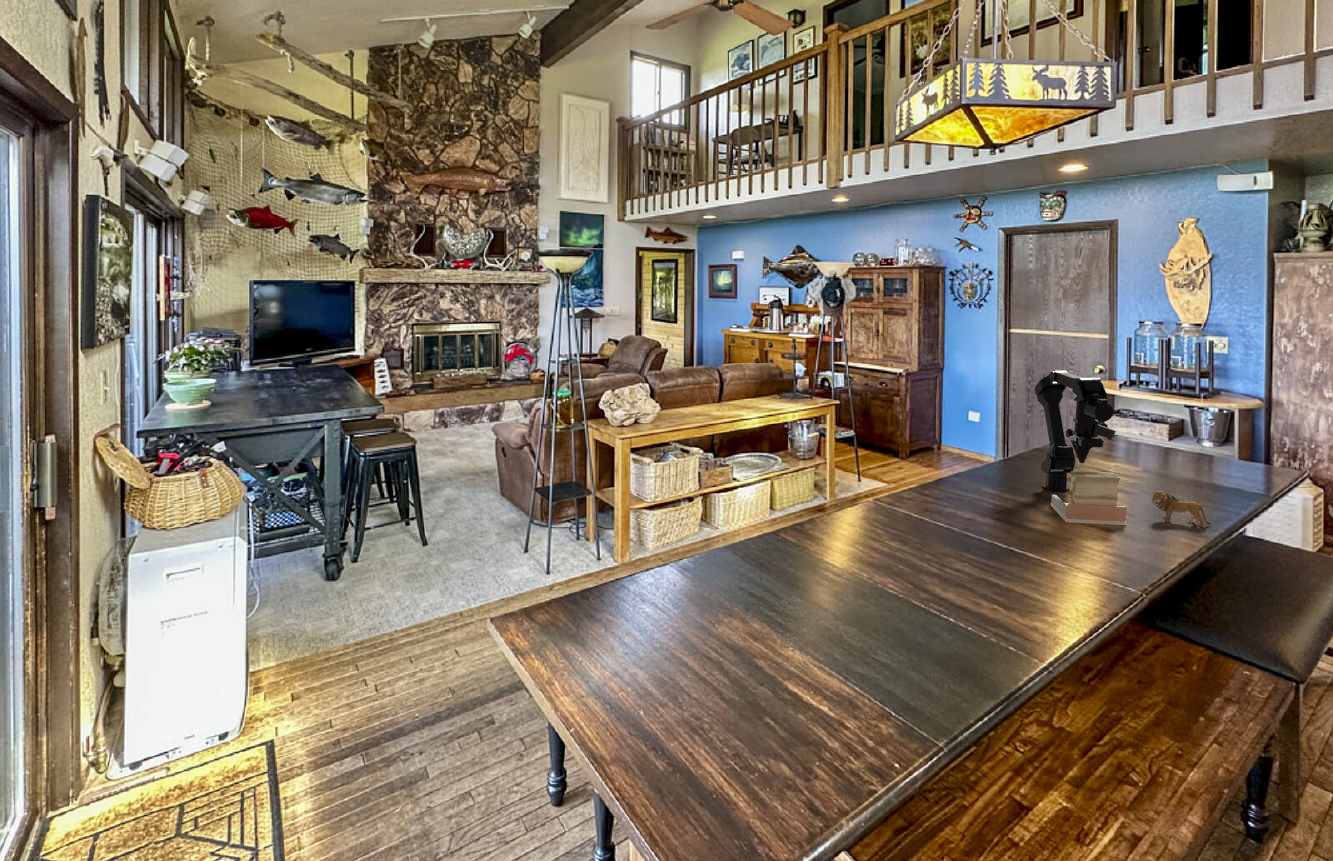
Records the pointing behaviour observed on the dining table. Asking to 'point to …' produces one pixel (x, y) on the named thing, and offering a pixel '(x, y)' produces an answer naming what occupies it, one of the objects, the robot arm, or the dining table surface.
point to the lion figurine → (1177, 507)
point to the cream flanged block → (1094, 488)
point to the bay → (1089, 512)
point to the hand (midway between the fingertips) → (1081, 463)
